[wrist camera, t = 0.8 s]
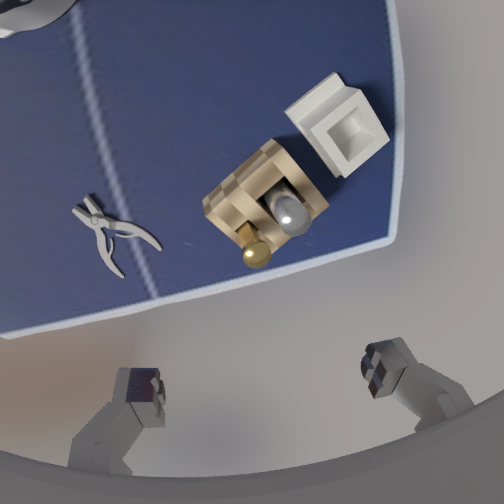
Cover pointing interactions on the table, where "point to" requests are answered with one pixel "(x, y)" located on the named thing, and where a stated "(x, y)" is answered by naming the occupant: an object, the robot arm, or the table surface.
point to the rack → (338, 125)
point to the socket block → (252, 187)
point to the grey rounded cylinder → (287, 209)
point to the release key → (253, 246)
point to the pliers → (100, 221)
